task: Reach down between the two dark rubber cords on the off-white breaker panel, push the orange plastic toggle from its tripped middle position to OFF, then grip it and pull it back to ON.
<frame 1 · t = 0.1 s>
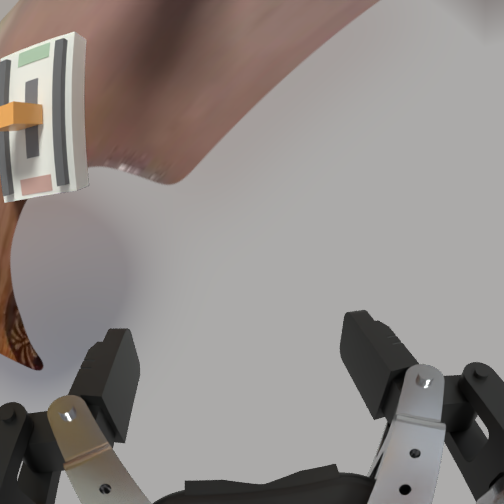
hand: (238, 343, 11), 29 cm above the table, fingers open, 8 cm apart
breaker panel: (46, 118, 31), on the table
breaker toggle: (15, 117, 24), point 8 cm above the table, slide at 3.0 cm
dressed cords: (28, 117, 27), on the breaker panel, point 4 cm above the table
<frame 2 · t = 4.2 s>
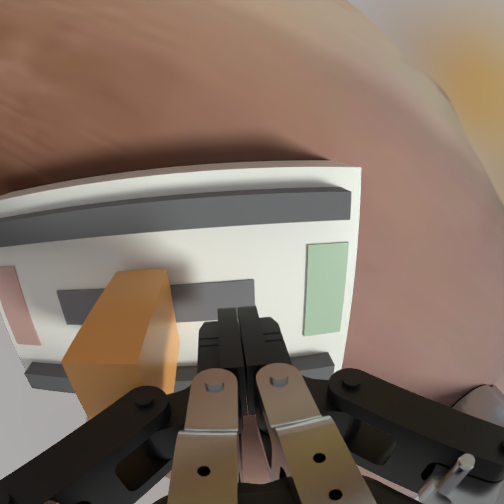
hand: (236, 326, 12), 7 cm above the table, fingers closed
breaker panel: (162, 271, 18), on the table
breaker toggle: (135, 350, 11), point 8 cm above the table, slide at 3.0 cm, touching gripper
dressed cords: (148, 311, 14), on the breaker panel, point 4 cm above the table
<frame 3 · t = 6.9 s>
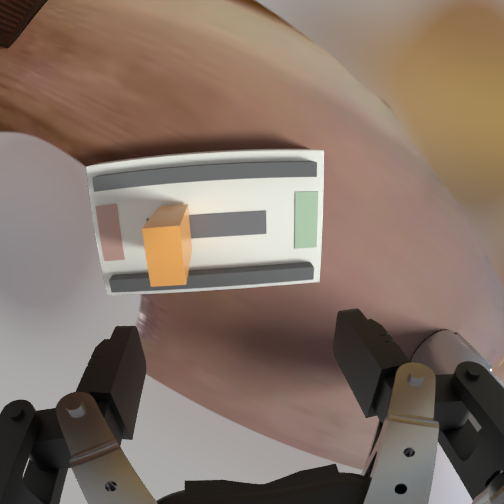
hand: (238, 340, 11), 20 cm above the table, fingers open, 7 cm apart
breaker panel: (207, 214, 30), on the table
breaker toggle: (170, 241, 22), point 8 cm above the table, slide at 5.5 cm
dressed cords: (206, 227, 25), on the breaker panel, point 4 cm above the table
pepper mill: (3, 16, 18), on the table
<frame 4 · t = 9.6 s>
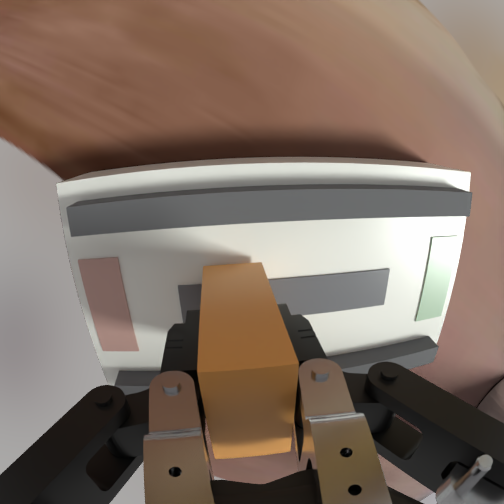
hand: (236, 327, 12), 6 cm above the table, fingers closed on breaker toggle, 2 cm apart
breaker panel: (275, 263, 18), on the table
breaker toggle: (240, 351, 11), point 8 cm above the table, slide at 5.6 cm, touching gripper
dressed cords: (293, 303, 14), on the breaker panel, point 4 cm above the table
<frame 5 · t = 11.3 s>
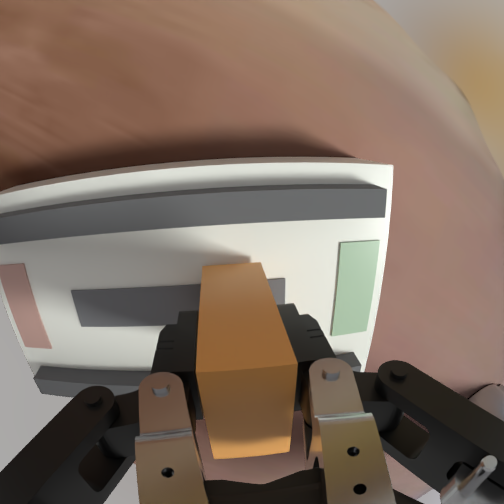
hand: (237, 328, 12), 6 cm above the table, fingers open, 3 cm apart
breaker panel: (182, 269, 17), on the table
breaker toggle: (240, 351, 11), point 8 cm above the table, slide at 0.3 cm
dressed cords: (172, 312, 13), on the breaker panel, point 4 cm above the table
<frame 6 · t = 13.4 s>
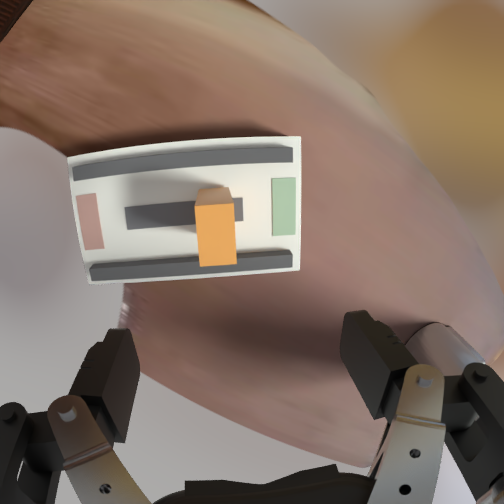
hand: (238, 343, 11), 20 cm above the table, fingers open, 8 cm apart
breaker panel: (186, 203, 29), on the table
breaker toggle: (215, 222, 23), point 8 cm above the table, slide at 0.3 cm
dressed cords: (182, 215, 25), on the breaker panel, point 4 cm above the table
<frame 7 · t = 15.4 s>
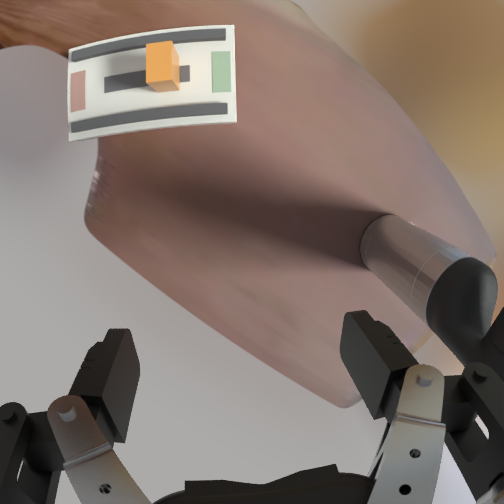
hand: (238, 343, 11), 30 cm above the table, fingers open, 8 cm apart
breaker panel: (152, 84, 33), on the table
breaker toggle: (164, 68, 26), point 8 cm above the table, slide at 0.3 cm
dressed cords: (144, 77, 29), on the breaker panel, point 4 cm above the table
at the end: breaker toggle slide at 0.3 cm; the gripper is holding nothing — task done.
